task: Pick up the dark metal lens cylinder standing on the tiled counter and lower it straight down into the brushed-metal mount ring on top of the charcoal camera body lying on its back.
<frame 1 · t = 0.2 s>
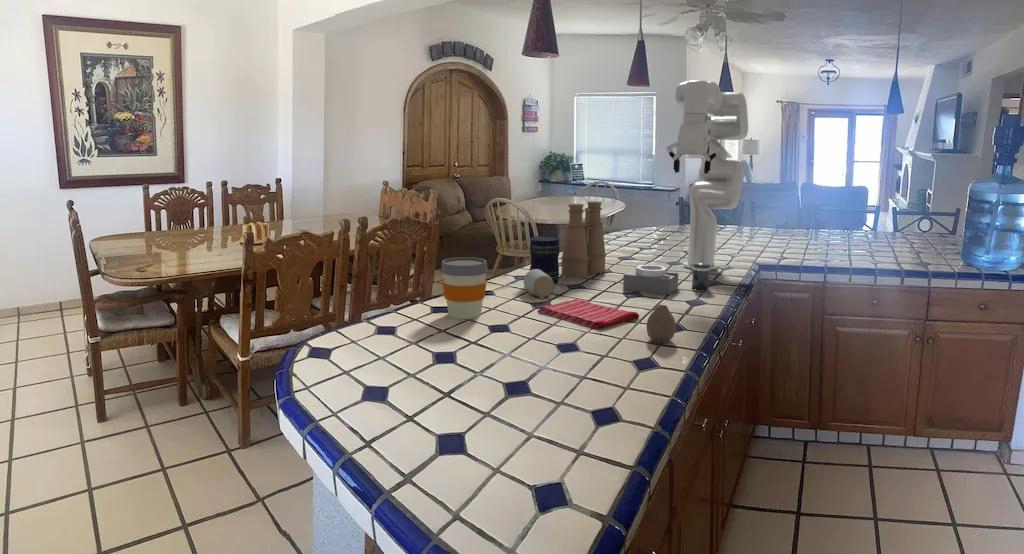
hand: (691, 172, 224), 36 cm above the worktop, tool pointing down, fingers open, 9 cm apart
ceramic mug: (542, 295, 209), on the worktop
reusable coffee cup: (464, 315, 187), on the worktop
binoculars: (583, 273, 241), on the worktop
lens: (700, 288, 218), on the worktop
dish towel: (587, 317, 187), on the worktop
camera body: (650, 289, 218), on the worktop
vase: (660, 341, 164), on the worktop
storage jar: (544, 283, 226), on the worktop
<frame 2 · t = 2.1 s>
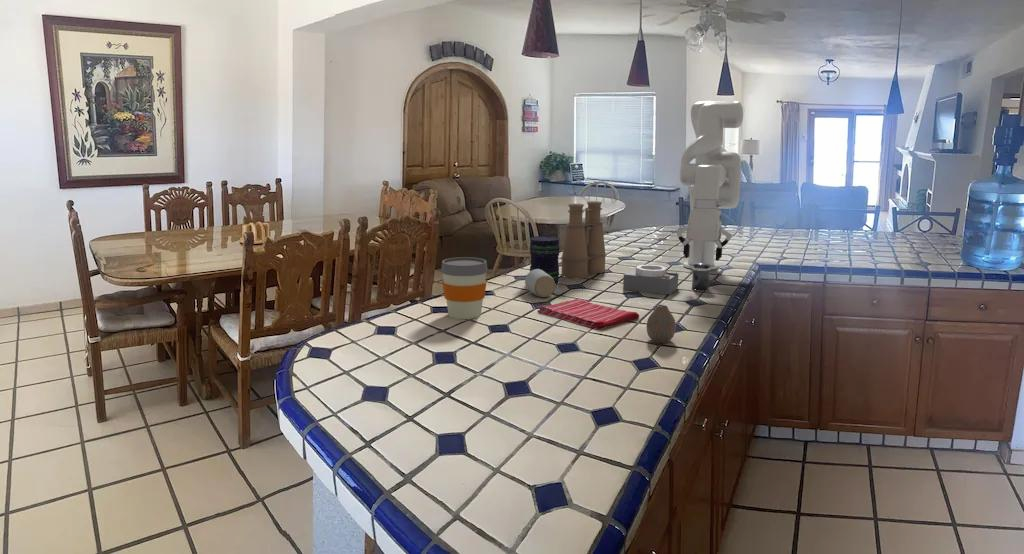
hand: (702, 258, 215), 10 cm above the worktop, tool pointing down, fingers open, 9 cm apart
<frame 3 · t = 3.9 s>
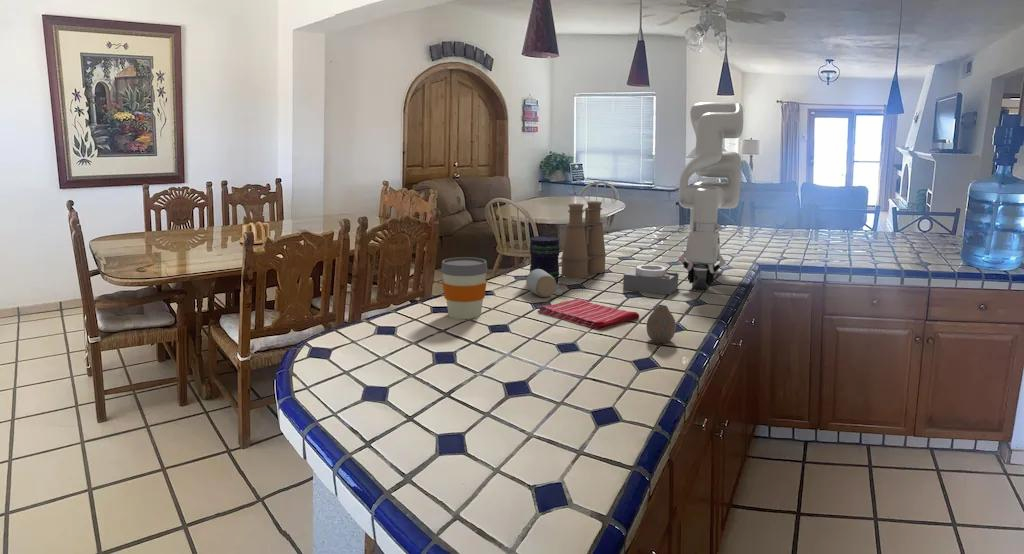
hand: (700, 282, 218), 2 cm above the worktop, tool pointing down, fingers closed on lens, 5 cm apart
lens: (700, 288, 218), on the worktop, touching gripper
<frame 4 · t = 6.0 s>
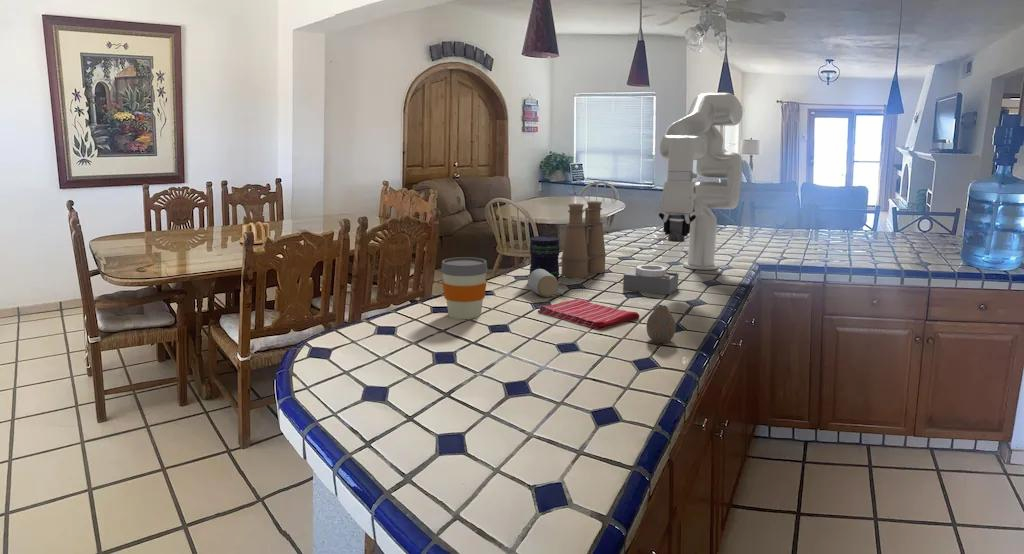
hand: (676, 234, 214), 18 cm above the worktop, tool pointing down, fingers closed on lens, 5 cm apart
lens: (676, 240, 214), point 16 cm above the worktop, touching gripper
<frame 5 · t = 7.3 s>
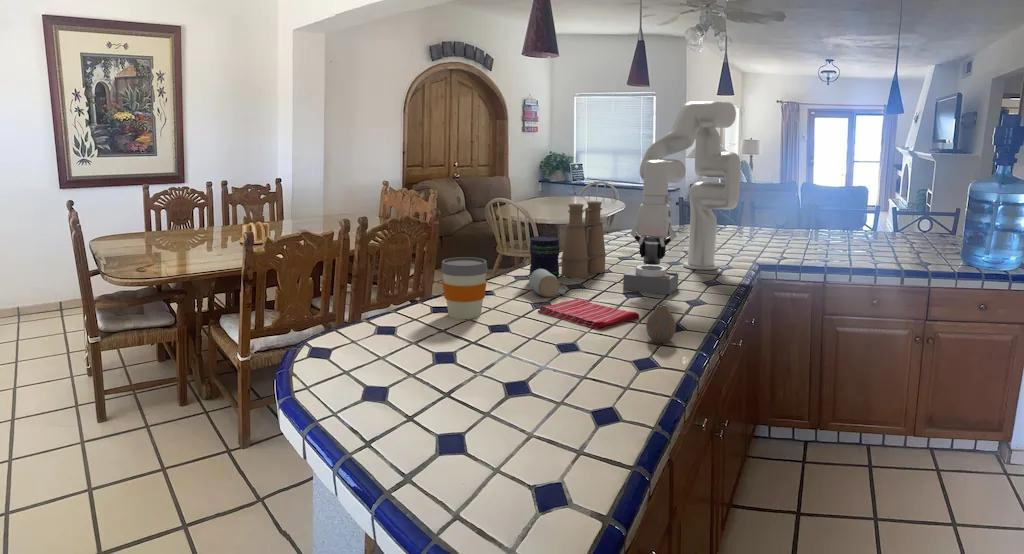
hand: (652, 257, 215), 10 cm above the worktop, tool pointing down, fingers closed on lens, 5 cm apart
lens: (651, 263, 216), point 8 cm above the worktop, touching gripper
when the fingers open (8 cm above the worktop, at t = 8.2 s): lens drops 1 cm, resting on camera body.
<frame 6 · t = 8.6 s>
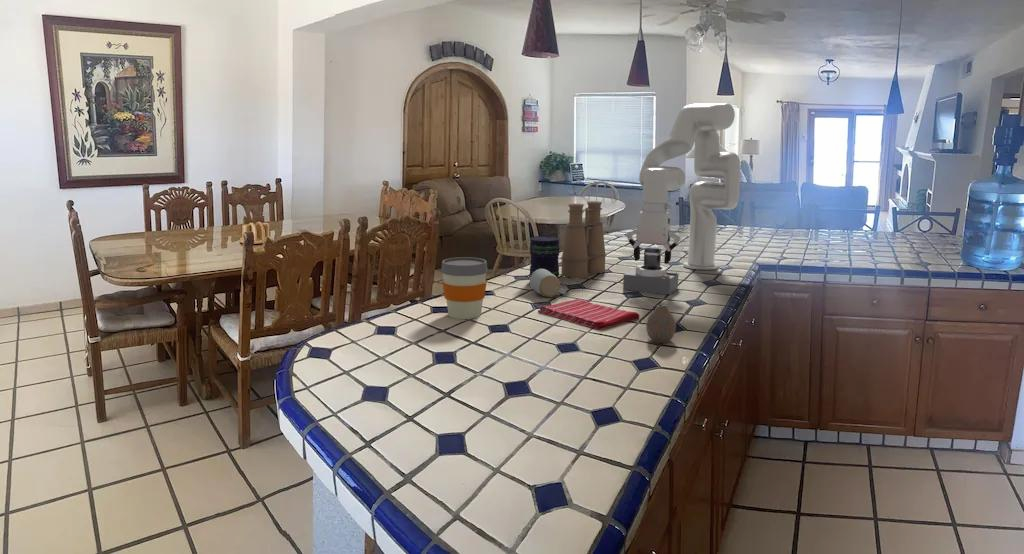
hand: (651, 261, 216), 9 cm above the worktop, tool pointing down, fingers open, 9 cm apart
lens: (651, 273, 216), point 5 cm above the worktop, touching camera body
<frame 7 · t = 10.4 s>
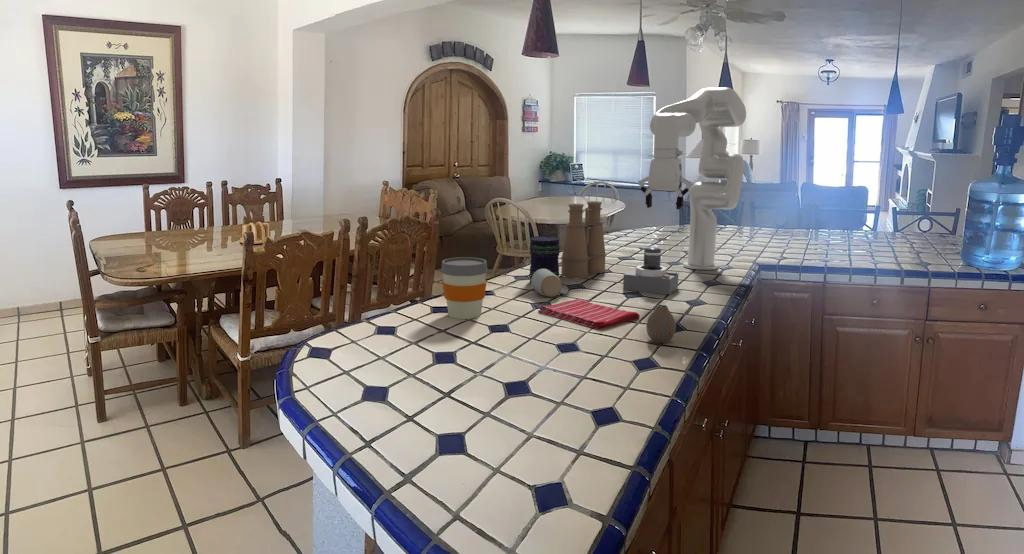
hand: (663, 208, 218), 25 cm above the worktop, tool pointing down, fingers open, 9 cm apart
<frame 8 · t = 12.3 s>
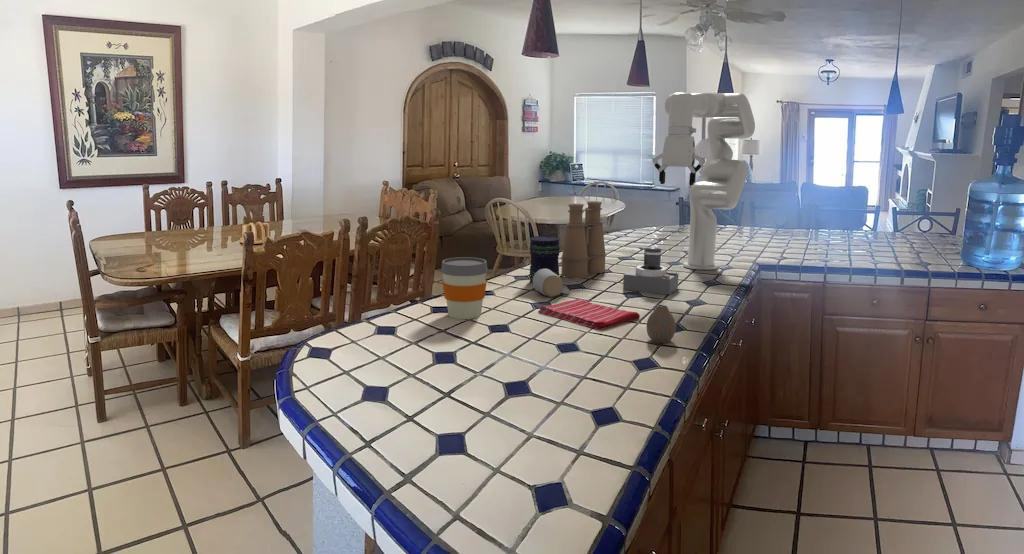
hand: (676, 184, 225), 32 cm above the worktop, tool pointing down, fingers open, 9 cm apart
at the end: lens 0.1 cm off-centre on the camera body, point 5.0 cm above the camera body's base; lens tilted 1°; the gripper is holding nothing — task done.
